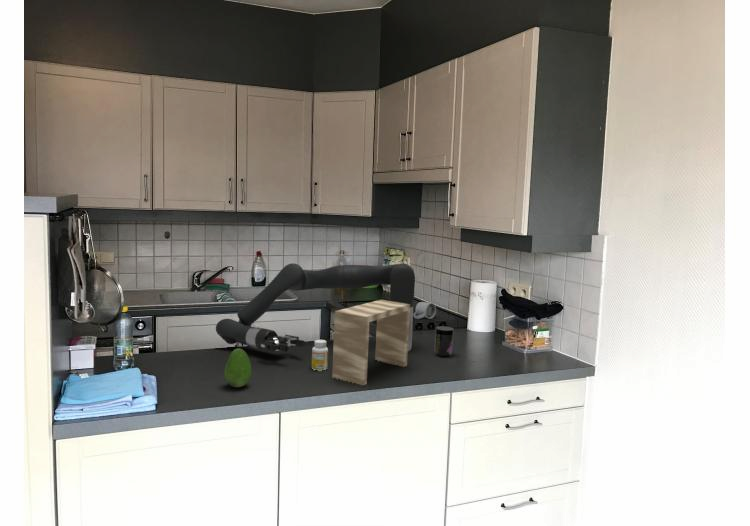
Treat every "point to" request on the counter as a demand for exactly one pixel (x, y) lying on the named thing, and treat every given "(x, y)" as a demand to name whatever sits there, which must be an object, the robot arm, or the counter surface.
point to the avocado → (238, 368)
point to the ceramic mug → (425, 310)
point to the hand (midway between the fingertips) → (296, 346)
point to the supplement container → (443, 341)
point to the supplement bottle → (320, 355)
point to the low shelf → (355, 338)
